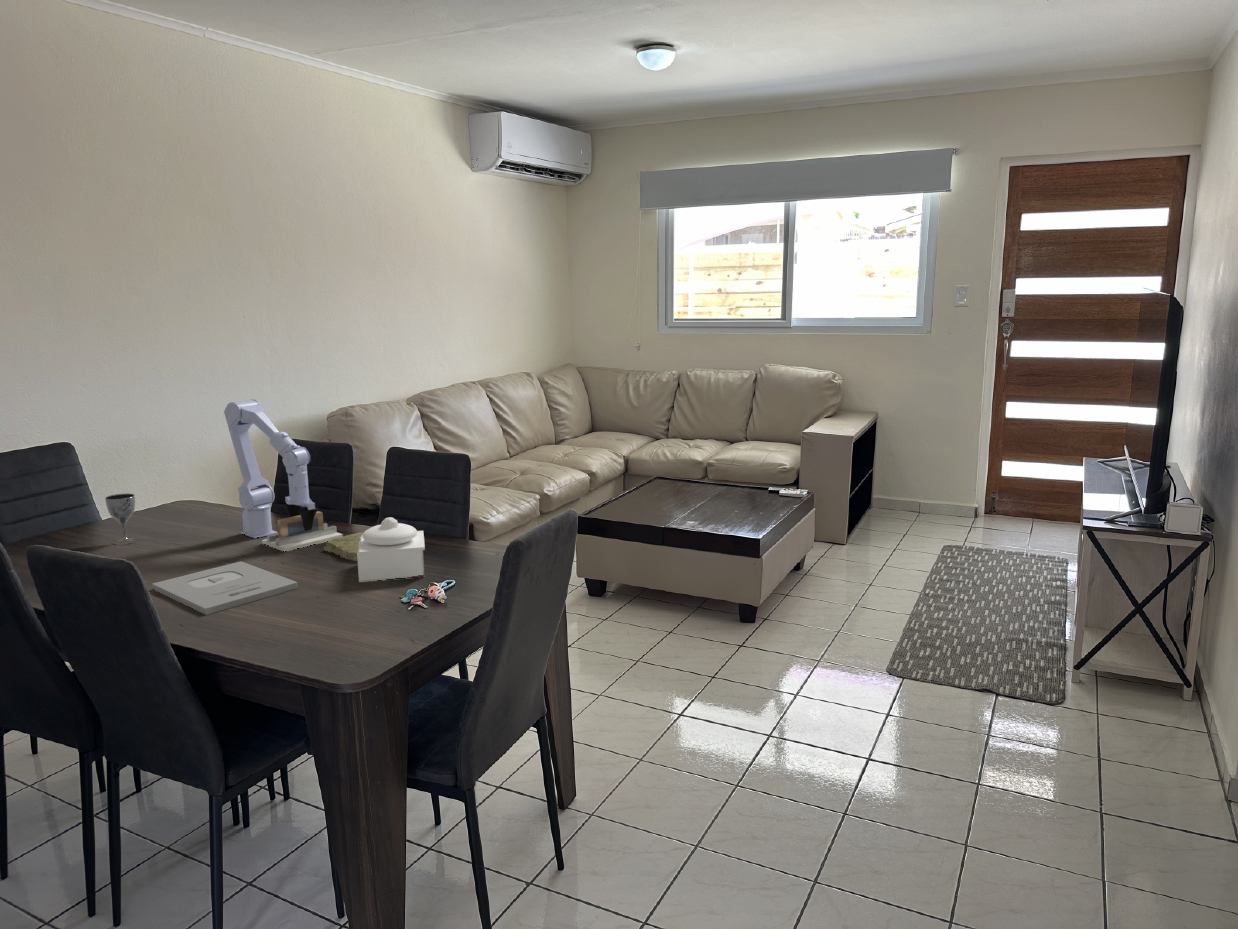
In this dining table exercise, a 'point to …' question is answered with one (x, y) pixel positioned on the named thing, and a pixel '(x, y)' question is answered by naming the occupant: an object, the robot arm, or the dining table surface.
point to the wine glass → (121, 509)
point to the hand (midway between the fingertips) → (302, 528)
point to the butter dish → (390, 552)
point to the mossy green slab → (345, 546)
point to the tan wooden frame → (298, 525)
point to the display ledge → (302, 538)
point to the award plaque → (224, 587)
